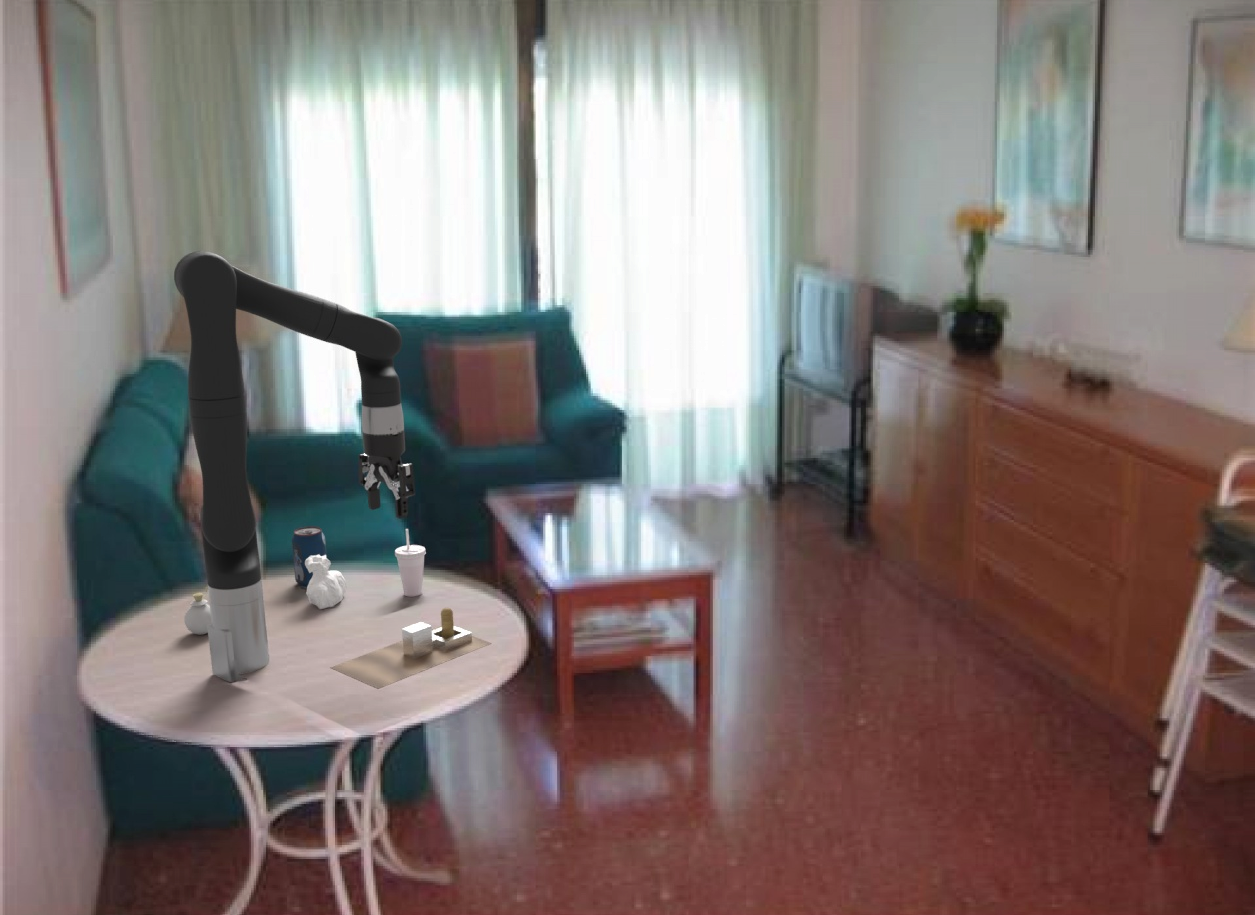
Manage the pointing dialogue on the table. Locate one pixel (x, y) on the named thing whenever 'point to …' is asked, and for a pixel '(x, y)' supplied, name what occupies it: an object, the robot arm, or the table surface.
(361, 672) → the board
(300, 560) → the soda can
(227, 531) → the robot arm
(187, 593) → the table surface
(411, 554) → the smoothie
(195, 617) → the white potion bottle
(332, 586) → the white tied bag
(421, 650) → the steel link
